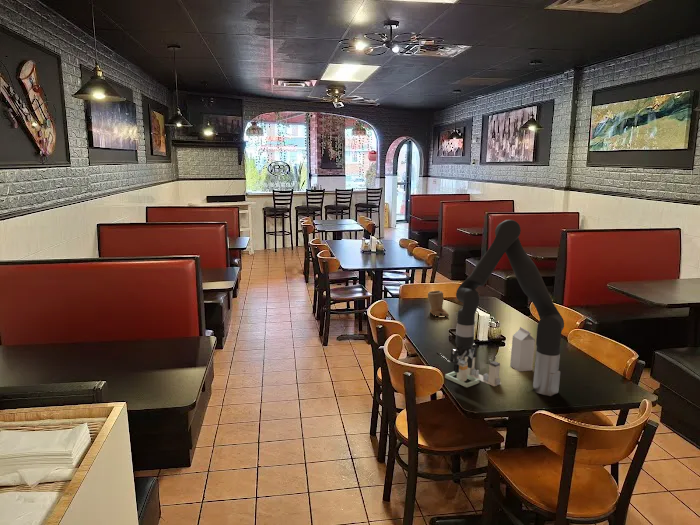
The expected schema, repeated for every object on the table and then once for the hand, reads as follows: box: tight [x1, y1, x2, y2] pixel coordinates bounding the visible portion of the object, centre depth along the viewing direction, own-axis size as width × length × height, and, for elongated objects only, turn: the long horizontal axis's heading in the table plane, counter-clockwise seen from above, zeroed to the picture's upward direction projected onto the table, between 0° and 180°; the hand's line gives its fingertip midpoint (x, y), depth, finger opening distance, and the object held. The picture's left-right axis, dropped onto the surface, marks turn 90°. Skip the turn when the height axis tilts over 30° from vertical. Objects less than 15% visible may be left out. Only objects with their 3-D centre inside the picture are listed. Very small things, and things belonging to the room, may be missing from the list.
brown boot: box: [427, 290, 450, 318], centre depth 318 cm, size 15×12×15 cm
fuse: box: [456, 359, 468, 382], centre depth 219 cm, size 3×3×9 cm
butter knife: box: [441, 354, 451, 363], centre depth 243 cm, size 1×27×3 cm
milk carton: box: [509, 326, 536, 372], centre depth 236 cm, size 7×7×19 cm
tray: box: [444, 371, 480, 388], centre depth 220 cm, size 12×8×3 cm, turn 38°
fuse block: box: [464, 352, 503, 387], centre depth 222 cm, size 18×5×10 cm, turn 38°
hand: (462, 369), depth 218 cm, fingers open, 8 cm apart
